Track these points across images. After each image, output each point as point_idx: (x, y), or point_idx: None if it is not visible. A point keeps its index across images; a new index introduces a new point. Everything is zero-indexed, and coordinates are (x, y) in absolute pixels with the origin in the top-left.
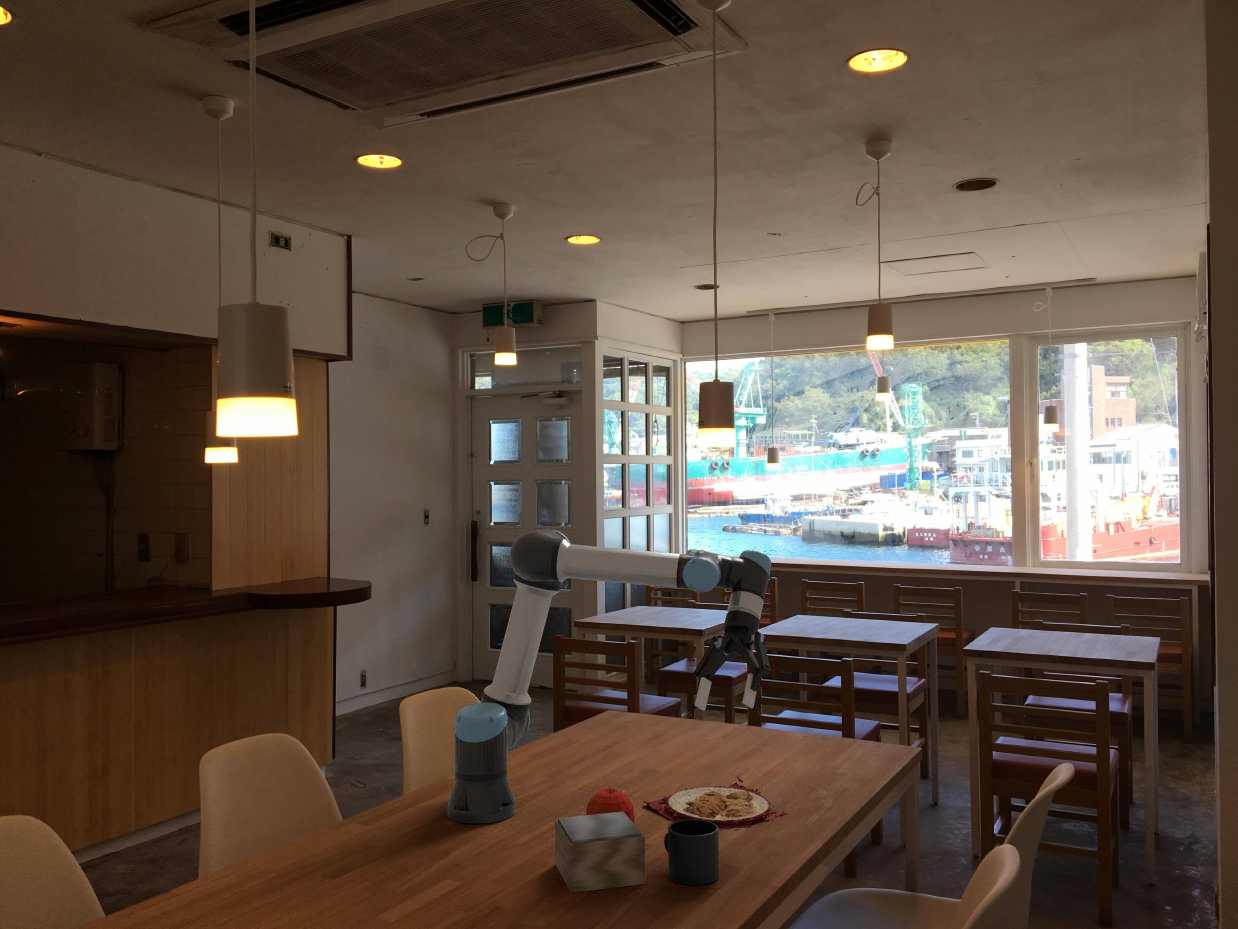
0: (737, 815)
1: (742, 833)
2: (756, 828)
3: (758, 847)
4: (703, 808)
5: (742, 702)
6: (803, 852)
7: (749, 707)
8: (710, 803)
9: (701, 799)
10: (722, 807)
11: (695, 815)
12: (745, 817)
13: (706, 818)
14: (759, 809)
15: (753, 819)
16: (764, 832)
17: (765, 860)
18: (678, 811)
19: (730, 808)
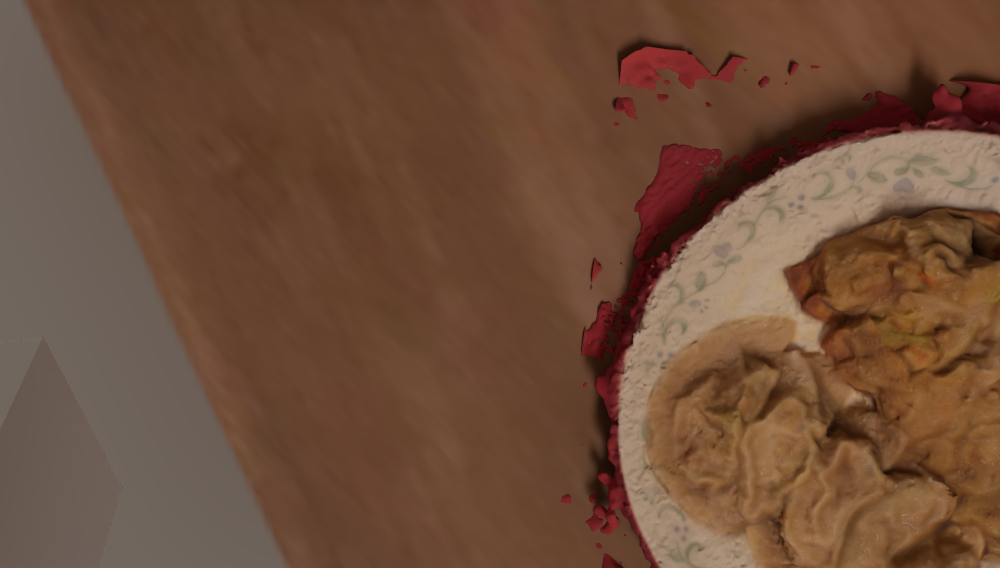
0: (700, 382)
1: (540, 259)
2: (550, 367)
3: (351, 183)
4: (877, 276)
5: (38, 343)
6: (188, 299)
7: (110, 470)
8: (914, 366)
9: (990, 357)
10: (868, 421)
11: (873, 210)
12: (638, 383)
13: (759, 197)
14: (705, 551)
15: (608, 411)
16: (483, 355)
17: (214, 90)
18: (953, 133)
19: (786, 411)
